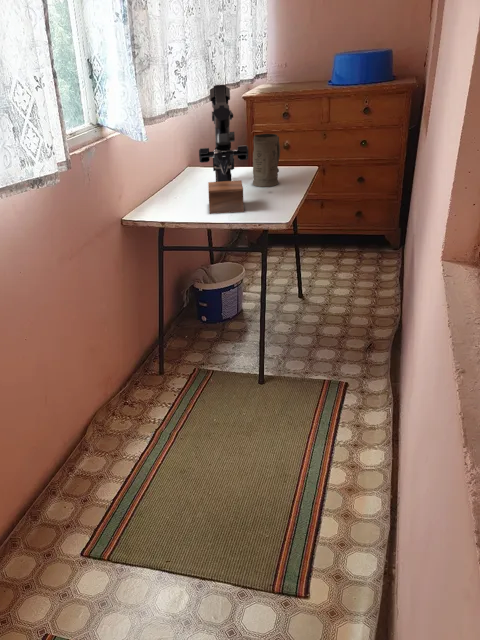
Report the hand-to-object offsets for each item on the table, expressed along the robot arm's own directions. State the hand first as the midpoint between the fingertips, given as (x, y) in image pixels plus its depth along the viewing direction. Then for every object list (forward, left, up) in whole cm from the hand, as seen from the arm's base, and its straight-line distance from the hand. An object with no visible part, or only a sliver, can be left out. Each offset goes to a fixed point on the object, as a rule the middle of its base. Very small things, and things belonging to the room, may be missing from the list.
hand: (224, 173), depth 229 cm
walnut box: (+5, -5, -11) cm, 13 cm away
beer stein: (-8, +35, -11) cm, 37 cm away
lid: (+5, -5, -3) cm, 8 cm away
